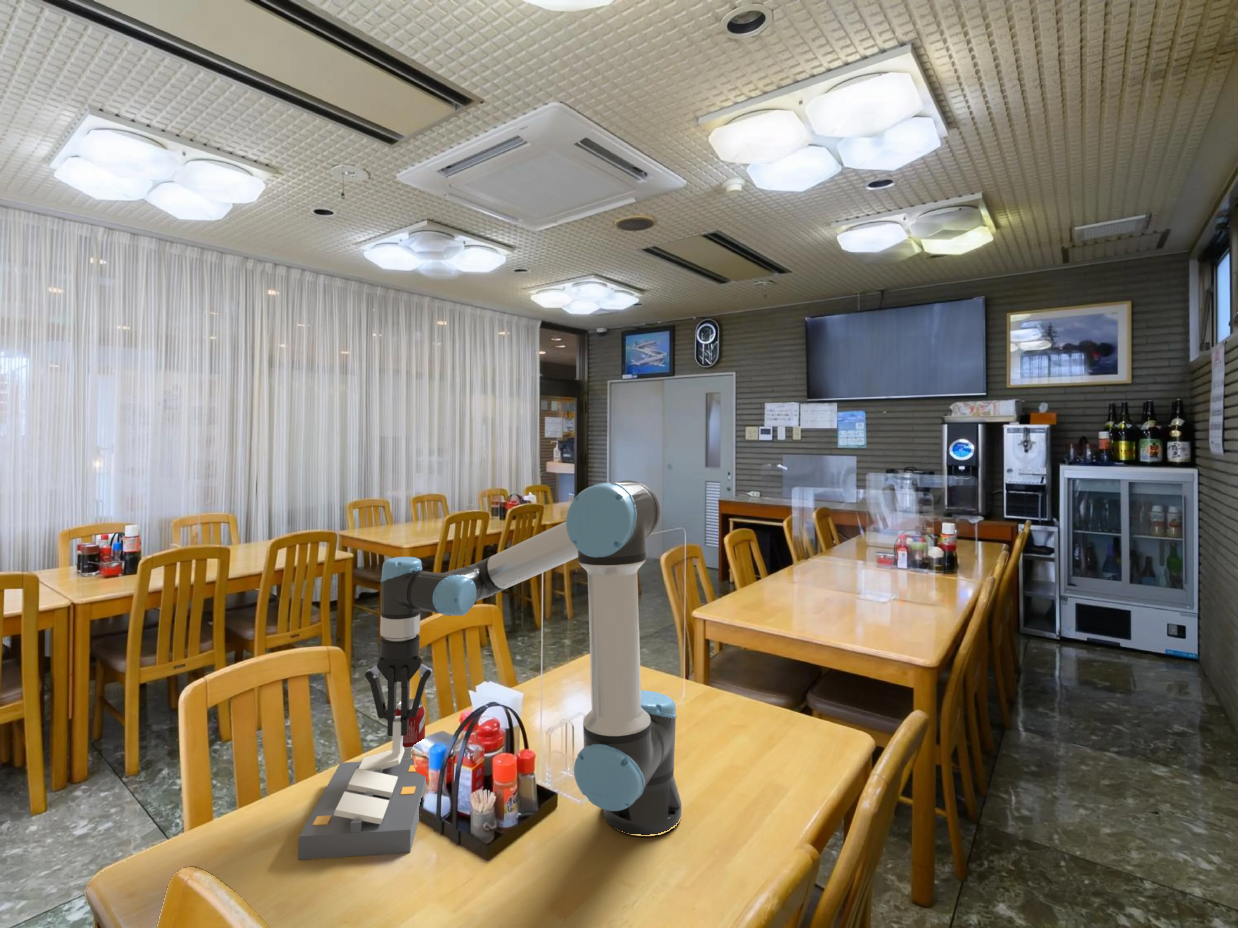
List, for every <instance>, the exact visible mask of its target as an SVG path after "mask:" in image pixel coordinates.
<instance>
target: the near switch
mask: <svg viewBox="0 0 1238 928" xmlns="http://www.w3.org/2000/svg"><path fill="white" fill-rule="evenodd" d="M388 803H389V800H385V799H380V798H375V797H370V796H365V795H359V794H354V793H349V792H344V794H343V796H342V798H341V800H340V802H339V804H338V806H337V808H336V810H335V813H334V815H335V816H340V817H345V818H350V819H354V820H362V821H366V822H371V823H376V824H381V823H382V820H383V817H384V815H385V812H386V809H387V807H388Z"/></svg>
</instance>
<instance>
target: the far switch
mask: <svg viewBox="0 0 1238 928" xmlns="http://www.w3.org/2000/svg"><path fill="white" fill-rule="evenodd" d="M404 751H405V750H404V746H403V747H402V750H401V753H400V754H392V749H390V750H387V751H385V750H384V751H382V752H378V753H376V754H372V755H369V756H365V757H363V759H362V761H361V762H362V763H361V765H360V767H359V769H363V770H368V771H373V772H374V771H379V770H383V769H386V768H389V767H393V766H396V765H399V764H400V762H401V759H402V756H403V754H404Z"/></svg>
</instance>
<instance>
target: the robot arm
mask: <svg viewBox="0 0 1238 928" xmlns="http://www.w3.org/2000/svg"><path fill="white" fill-rule="evenodd" d="M660 517H661V508H660V502H659V499H658V498H657V495H656V494H655V492H653V490H652V489H651V488H650V487H648V486H647V485H645V484H643V482H639V481H636V480H622V481H614V482H608V481H606V482H602V483H600V482H599V483H597V484H593V485H592V486H589V487H586V488H585V489H583V490H582V491H580V492H579V493H578V494H577V495H576V496H575V497H574V499H572V501H571V503H570V504H569V506H568V510H567V513H566V518H565V519H566V521H564V522H561V523H559V524H558V525H555V526H553V527H551V528H549V529H547V530H544V531H542V532H541V533H537V534H536V535H534V536H531V537H529V538H528V539H526V540H524V541H521V542H519V543H517V544H514V545H513V546H510V547H508V548H506V549H504V550H502V551H500V552H497V553H496V554H493V555H491V556H489V557H487V558H485V559H482V560H480V561H478V562H476V563H473V564H470V565H468V566H463V567H461V568H456V569H452V570H450V571H445V572H431V571H425V570H423V566H422V564H423V563H422V560H421V559H420V558H418V557H415V556H398V557H395V556H394V557H392V558H387V559H386V560H385V561H383V564H382V570H381V577H380V578H381V579H380V592H381V593H380V594H381V595H380V597H381V599H380V601H381V602H380V608H381V609H380V624H379V625H380V627H379V629H380V630H379V631H380V632H379V635H380V636H381V637H380V639H379V658H378V661H377V663H376V665H375V666H373V667H368V669H367V670H366V672H365V674H364V678H365V679H366V680H367V681H368V683H369V685H370V689H371V693H372V697H373V702H374V705H375V710H376V715H377V718H379V719H384V720H386V722H387V727H386V728H387V732H386V733H387V737H392V742H391V743H392V749H391V750H392V754H400V753H401V750H402V747H403V736H406V734H407V732H408V724H409V718H411V717H415V716H416V715H417V712H418V709H419V706H420V702H421V701H422V697H423V695H424V691H425V687H426V684H427V681H428V679H429V678H430V676H431V675H432V673H433V667H432V666H426V665H425V664H423V660H422V657H420V643H421V642H420V641H421V640H420V634H419V633H420V632H421V611H424V612H430V613H435V614H442V615H443V616H450V617H451V616H459V617H461V616H464V615H467V614H468V613H469V612H470V610H471V609H472V608H473V607H474V605H475V603H476V602H477V601H480V600H483V599H486V598H489V597H493V596H495V595H497V594H498V593H500V592H502V591H504V590H505V589H508V588H510V587H512V586H515V585H518V584H520V583H522V582H525V581H527V580H529V579H531V578H533V577H536V576H539V575H540V574H543V573H545V572H547V571H550V570H552V569H554V568H556V567H559V566H561V565H564V564H566V563H568V562H571V561H573V560H574V559H578V560H577V561H578V562H577V563H578V565H580V566H581V567H582V568H583V569H584V570H585V571H586V573H587V592H588V593H587V594H588V596H587V597H588V628H589V660H590V661H589V663H590V691H591V692H590V693H591V694H590V697H591V710H589V712H588V713H586V715H585V716H584V718H583V722H582V723H583V727H582V728H583V748H582V749H581V750H580V751H579V752H578V754H577V756H576V759H575V761H574V765H573V776H574V779H575V783H576V785H577V787H578V789H579V792H581V794H582V795H583V796H585V797H586V798H587V799H588V801H589V802H590V803H591V804H592V805H594V806H595V807H597V808H600V809H602V813H603V814H604V815H603V814H602V815H603V818H604V817H605V818H604V820H605V819H606V820H605V821H606V823H607V822H608V823H609V824H610V825H611V826H610V825H609V824H608V823H607V824H608V825H609V826H610V827H611V828H613V827H614V828H616V829H618V830H620V831H623V832H625V833H629V834H641V835H650V834H658V833H661V832H664V831H667V830H669V829H670V828H671V827H673V826H674V825H676V823H678V821H679V819H680V817H681V818H682V801H681V797H680V793H679V790H678V786H677V782H676V778H675V777H674V776H675V775H674V772H675V771H674V770H675V767H674V766H675V751H676V750H675V747H676V746H675V744H676V719H677V709H676V703H675V701H674V700H673V698H671V697H670V696H668V695H666V694H663V693H660V692H657V691H651V690H645V689H644V690H642V683H641V681H642V680H641V652H640V651H641V648H640V645H641V644H640V619H639V618H640V616H639V615H640V614H639V587H638V585H639V583H638V582H639V581H638V570H639V569H640V568H641V567H642V566H643V564H644V563H646V559H647V558H646V557H647V555H646V554H647V553H646V552H647V551H646V549H647V548H646V539H648V537H650V536H651V535H652V534H653V532H654V531H655V530H656V528H657V527H658V525H659V523H660ZM547 556H548V557H547ZM417 671H419V673H418V676H419V677H420V679H419V681H418V685H417V689H416V692H415V696H414V698H413V699H414V702H413V706H412V709H409V699H410V691H411V680H412V679H413V677H414V675H416V673H417ZM380 673H381V675H382V676H383V677H384V679H385V680H386V681H387V705H386V702H385V696H384V693H383V688H382V684H381V680H380V677H379V676H380ZM397 683H400V688H401V690H400V691H401V693H400V694H401V695H400V702H401V716H396V717H395V715H396V708H397ZM614 828H613V829H614ZM616 829H615V830H616ZM618 830H617V831H618ZM620 831H619V832H620Z"/></svg>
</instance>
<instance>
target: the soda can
mask: <svg viewBox="0 0 1238 928" xmlns="http://www.w3.org/2000/svg"><path fill="white" fill-rule="evenodd" d="M414 699H415V698H409V709H412V706H413V702H414ZM426 713H427V712H426V708H425V706H424V703H423V700H421V702H420V706H419V709H418V712H417V715H416V716H415V717H411V718H409V724H408V732H407V734H406V736H403V746H404V750H405V751H404V754H403V756H402V759H401V760H409V759H412V757H411V754H410V753H411V749H412V747H413V745H414V744H416V743H417V742H419V741H421V740H422V739H424V738H425V739H426ZM396 716H401V701H399V702H397V703H396V715H395V717H396Z"/></svg>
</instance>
